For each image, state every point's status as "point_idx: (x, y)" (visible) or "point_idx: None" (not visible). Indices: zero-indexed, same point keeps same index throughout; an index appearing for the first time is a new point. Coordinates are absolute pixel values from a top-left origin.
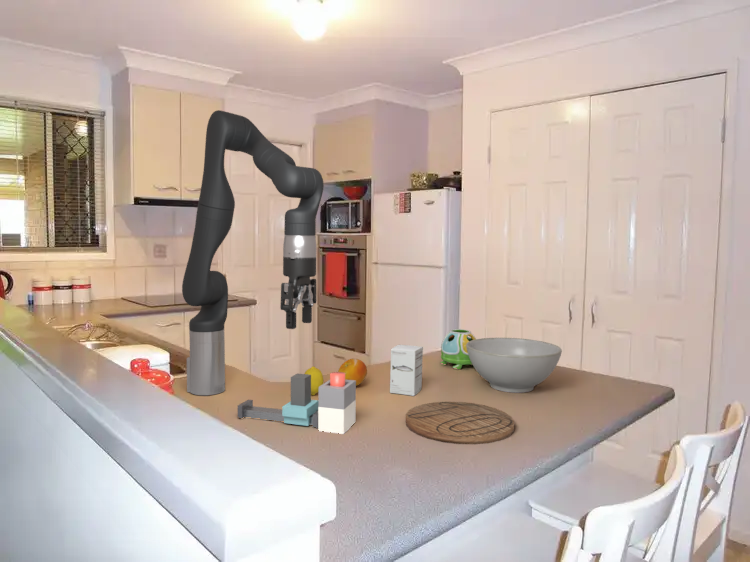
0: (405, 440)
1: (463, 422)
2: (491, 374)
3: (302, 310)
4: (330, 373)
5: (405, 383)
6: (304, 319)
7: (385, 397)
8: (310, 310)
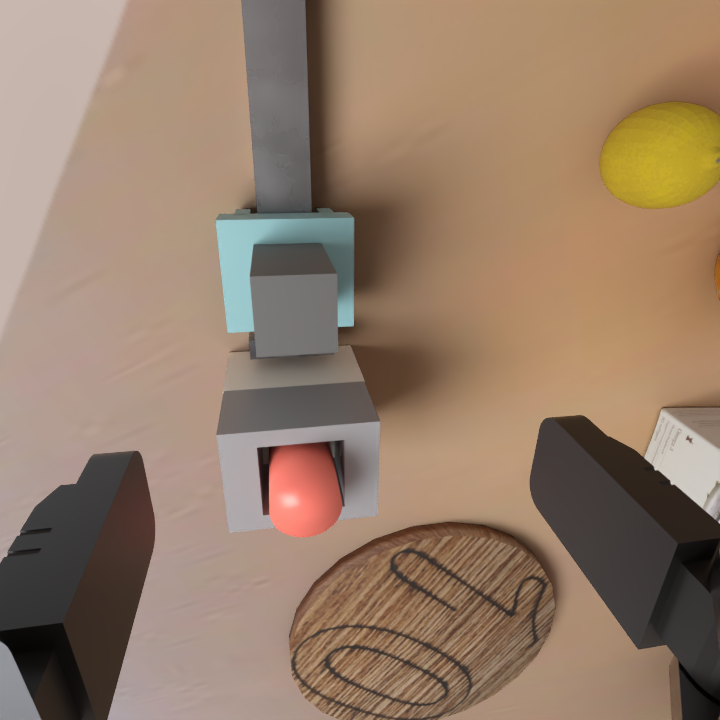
0: (264, 572)
1: (394, 656)
2: None
3: (637, 511)
4: (297, 481)
5: (669, 478)
6: (560, 456)
7: (615, 410)
8: (612, 612)
